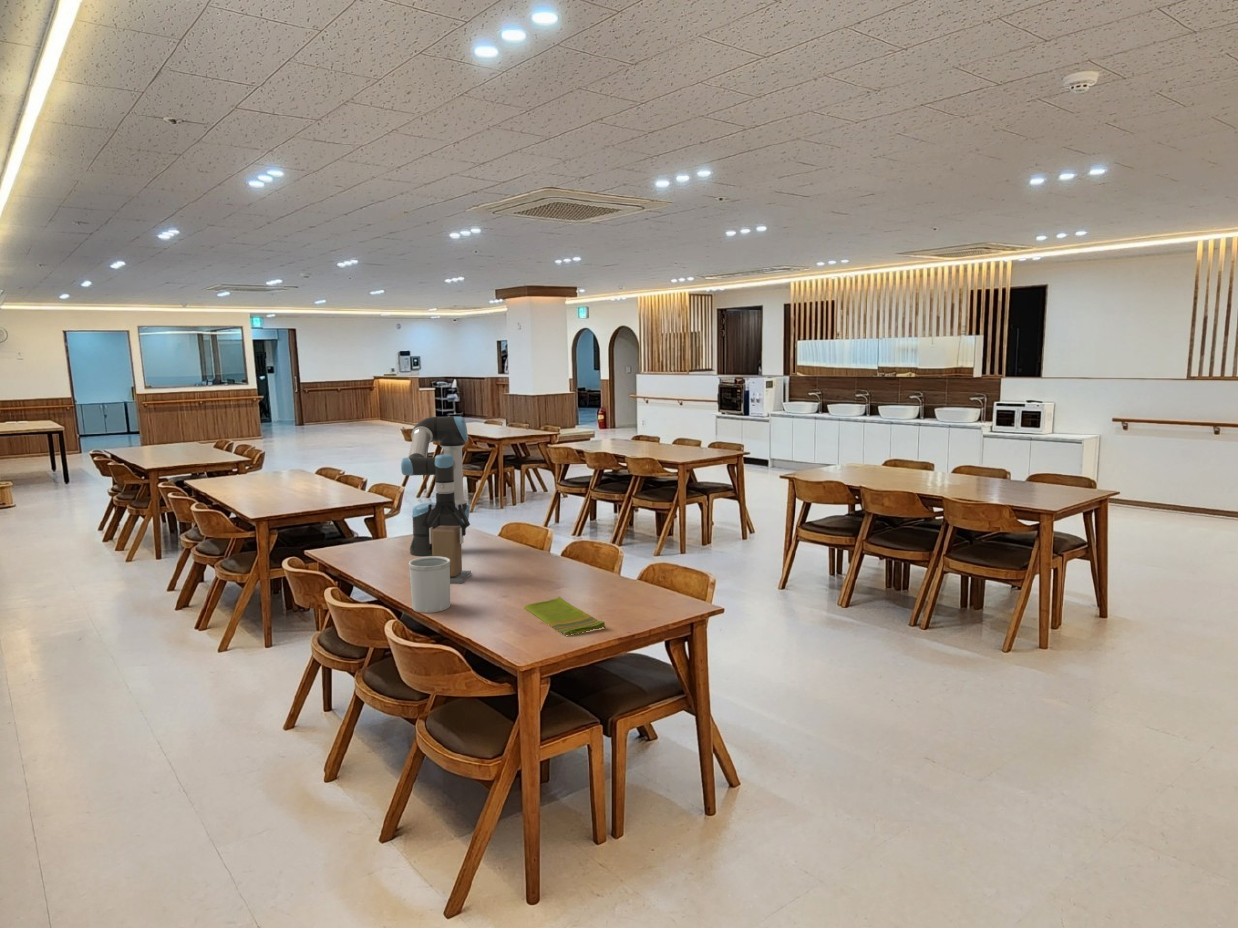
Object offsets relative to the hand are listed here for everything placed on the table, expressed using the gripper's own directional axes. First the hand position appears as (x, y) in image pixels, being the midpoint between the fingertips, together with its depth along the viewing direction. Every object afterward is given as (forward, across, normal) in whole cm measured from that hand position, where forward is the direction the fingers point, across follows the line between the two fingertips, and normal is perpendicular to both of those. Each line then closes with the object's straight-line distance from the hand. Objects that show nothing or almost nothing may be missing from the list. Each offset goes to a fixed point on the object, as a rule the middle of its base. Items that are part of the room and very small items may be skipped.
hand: (446, 543), depth 329 cm
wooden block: (+14, 0, 0) cm, 14 cm away
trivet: (+15, 0, 0) cm, 15 cm away
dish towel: (+16, +55, -50) cm, 76 cm away
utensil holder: (+15, +5, -40) cm, 43 cm away
